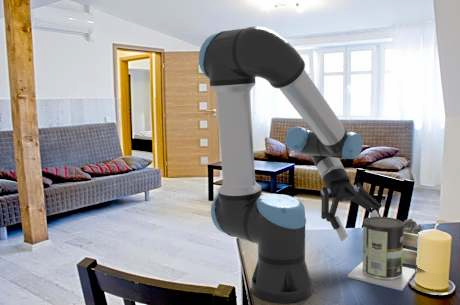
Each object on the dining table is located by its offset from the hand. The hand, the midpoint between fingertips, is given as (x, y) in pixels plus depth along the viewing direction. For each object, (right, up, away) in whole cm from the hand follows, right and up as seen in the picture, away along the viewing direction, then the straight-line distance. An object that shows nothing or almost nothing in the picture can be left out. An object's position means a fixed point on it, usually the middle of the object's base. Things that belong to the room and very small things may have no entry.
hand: (364, 235), depth 122 cm
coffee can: (+3, -9, -6) cm, 11 cm away
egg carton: (+23, -5, +27) cm, 36 cm away
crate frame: (+13, -7, +9) cm, 18 cm away
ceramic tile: (+3, -9, -6) cm, 12 cm away
